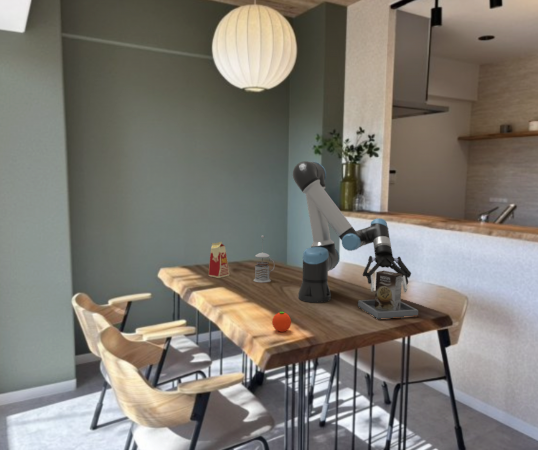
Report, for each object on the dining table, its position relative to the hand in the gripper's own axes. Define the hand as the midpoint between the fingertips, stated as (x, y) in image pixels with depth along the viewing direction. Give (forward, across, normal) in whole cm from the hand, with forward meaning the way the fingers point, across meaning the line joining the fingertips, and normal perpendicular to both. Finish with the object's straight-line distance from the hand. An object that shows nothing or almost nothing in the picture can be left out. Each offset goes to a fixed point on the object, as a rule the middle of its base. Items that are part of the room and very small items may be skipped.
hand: (389, 290), depth 180 cm
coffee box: (+5, 0, -8) cm, 9 cm away
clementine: (+24, +45, +10) cm, 52 cm away
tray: (+6, 0, -8) cm, 10 cm away
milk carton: (-37, +81, -53) cm, 104 cm away
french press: (-31, +55, -46) cm, 78 cm away
